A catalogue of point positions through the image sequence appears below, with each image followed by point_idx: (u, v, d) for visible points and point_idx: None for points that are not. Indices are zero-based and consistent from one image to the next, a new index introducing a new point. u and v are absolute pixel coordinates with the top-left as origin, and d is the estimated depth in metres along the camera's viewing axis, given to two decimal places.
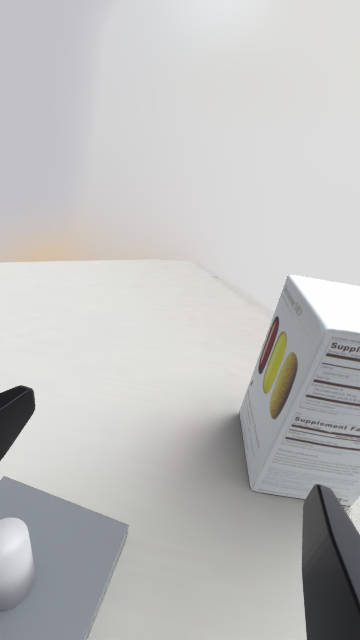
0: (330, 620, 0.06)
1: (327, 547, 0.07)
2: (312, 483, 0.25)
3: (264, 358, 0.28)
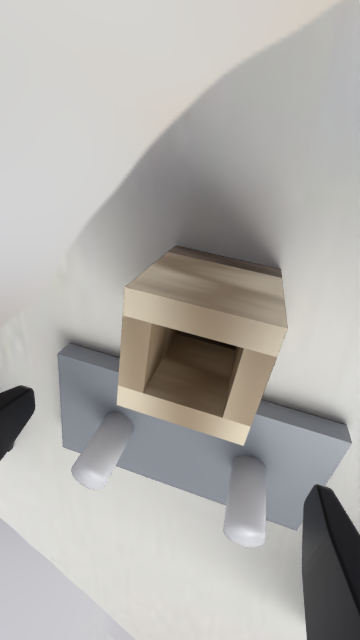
0: (330, 620, 0.06)
1: (327, 547, 0.07)
2: None
3: None
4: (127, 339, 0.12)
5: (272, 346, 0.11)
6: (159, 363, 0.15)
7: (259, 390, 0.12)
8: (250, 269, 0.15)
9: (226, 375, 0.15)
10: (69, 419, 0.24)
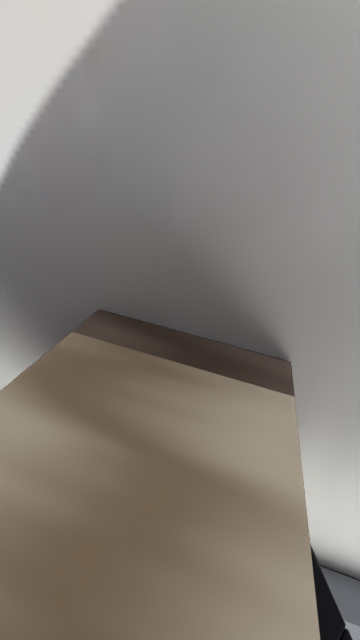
0: None
1: None
2: None
3: None
4: None
5: None
6: None
7: None
8: (231, 373, 0.08)
9: None
10: None
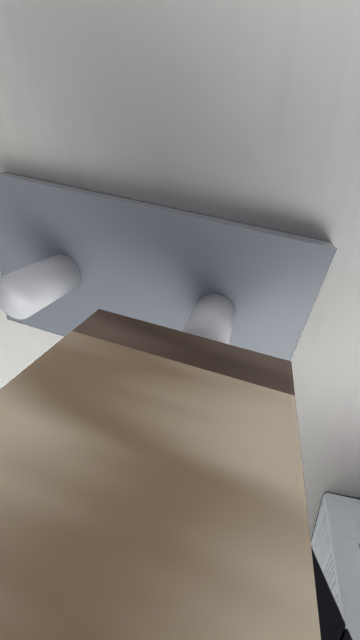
0: None
1: None
2: (317, 556, 0.24)
3: None
4: None
5: None
6: None
7: None
8: (231, 372, 0.08)
9: None
10: None
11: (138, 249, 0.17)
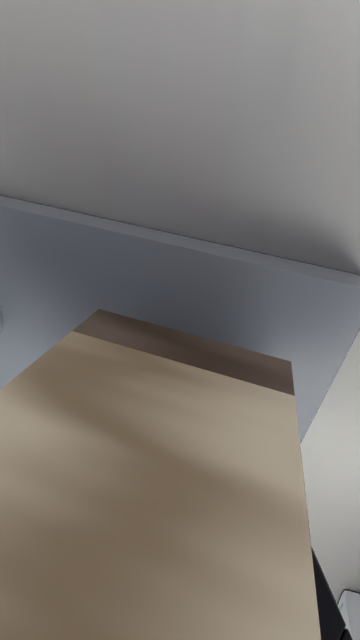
0: None
1: None
2: None
3: None
4: None
5: None
6: None
7: None
8: (231, 372, 0.08)
9: None
10: None
11: (75, 284, 0.12)
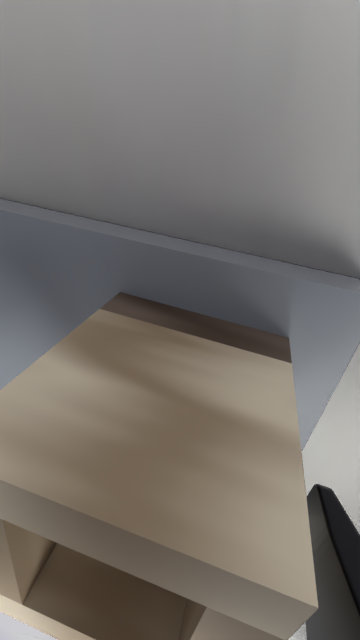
0: (330, 620, 0.06)
1: (327, 547, 0.07)
2: None
3: None
4: None
5: (275, 623, 0.04)
6: None
7: None
8: (237, 344, 0.09)
9: None
10: None
11: (67, 288, 0.11)
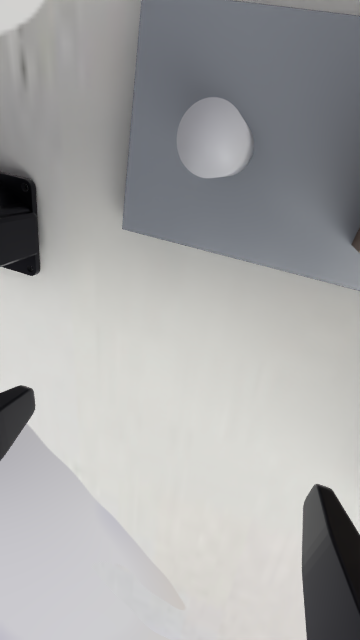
0: (330, 620, 0.06)
1: (327, 547, 0.07)
2: None
3: None
4: None
5: None
6: None
7: None
8: None
9: None
10: (141, 160, 0.15)
11: None
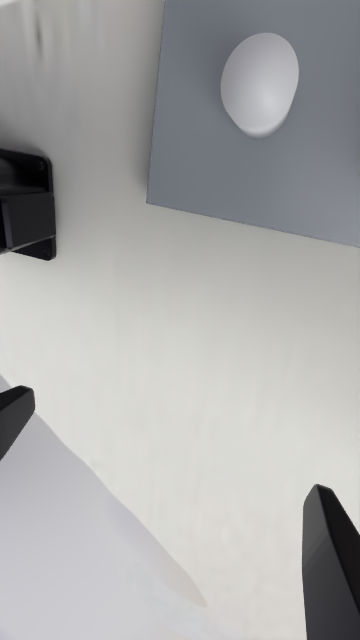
0: (330, 620, 0.06)
1: (327, 547, 0.07)
2: None
3: None
4: None
5: None
6: None
7: None
8: None
9: None
10: (167, 126, 0.15)
11: None
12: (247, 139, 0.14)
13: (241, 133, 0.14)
